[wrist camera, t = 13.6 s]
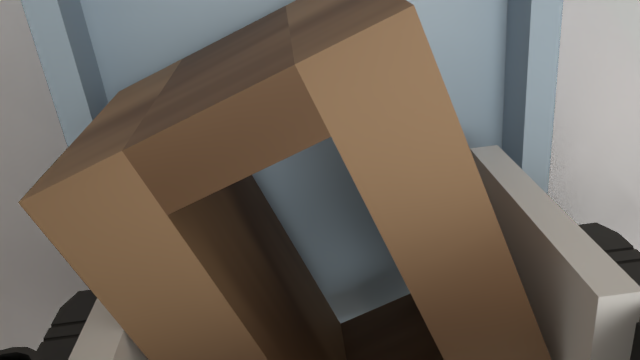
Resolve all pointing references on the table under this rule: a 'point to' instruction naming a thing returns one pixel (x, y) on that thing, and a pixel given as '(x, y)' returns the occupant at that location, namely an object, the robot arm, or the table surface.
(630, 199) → the table surface
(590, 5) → the table surface
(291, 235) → the tray
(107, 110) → the brown wooden hollow block
